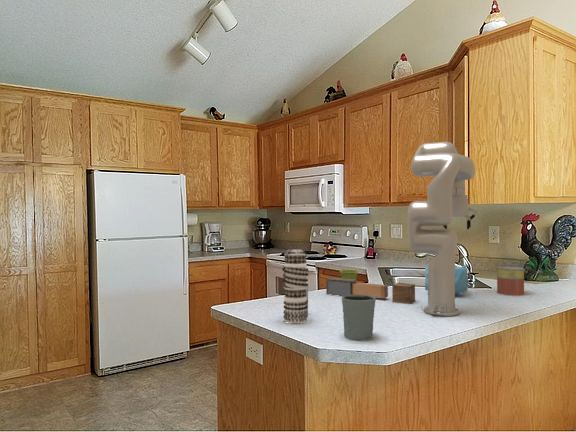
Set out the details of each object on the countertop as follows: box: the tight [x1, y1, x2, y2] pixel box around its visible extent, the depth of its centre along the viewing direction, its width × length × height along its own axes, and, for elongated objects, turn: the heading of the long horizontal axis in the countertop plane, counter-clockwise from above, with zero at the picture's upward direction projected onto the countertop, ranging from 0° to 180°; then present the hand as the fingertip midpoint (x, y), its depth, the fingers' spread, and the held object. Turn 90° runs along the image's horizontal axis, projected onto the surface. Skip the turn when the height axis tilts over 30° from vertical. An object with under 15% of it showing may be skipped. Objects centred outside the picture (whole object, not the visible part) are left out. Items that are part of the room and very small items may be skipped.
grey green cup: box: [341, 295, 377, 341], centre depth 129 cm, size 10×10×12 cm
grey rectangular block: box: [325, 276, 358, 297], centre depth 195 cm, size 7×12×7 cm, turn 57°
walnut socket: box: [391, 282, 416, 305], centre depth 179 cm, size 7×8×7 cm
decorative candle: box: [282, 248, 309, 324], centre depth 147 cm, size 9×9×25 cm
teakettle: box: [424, 263, 469, 297], centre depth 194 cm, size 19×19×15 cm
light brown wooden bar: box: [351, 282, 389, 299], centre depth 190 cm, size 4×26×5 cm, turn 57°
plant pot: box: [339, 269, 359, 279], centre depth 212 cm, size 9×9×9 cm
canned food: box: [496, 265, 525, 297], centre depth 196 cm, size 11×11×12 cm
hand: (456, 229), depth 195 cm, fingers open, 9 cm apart
